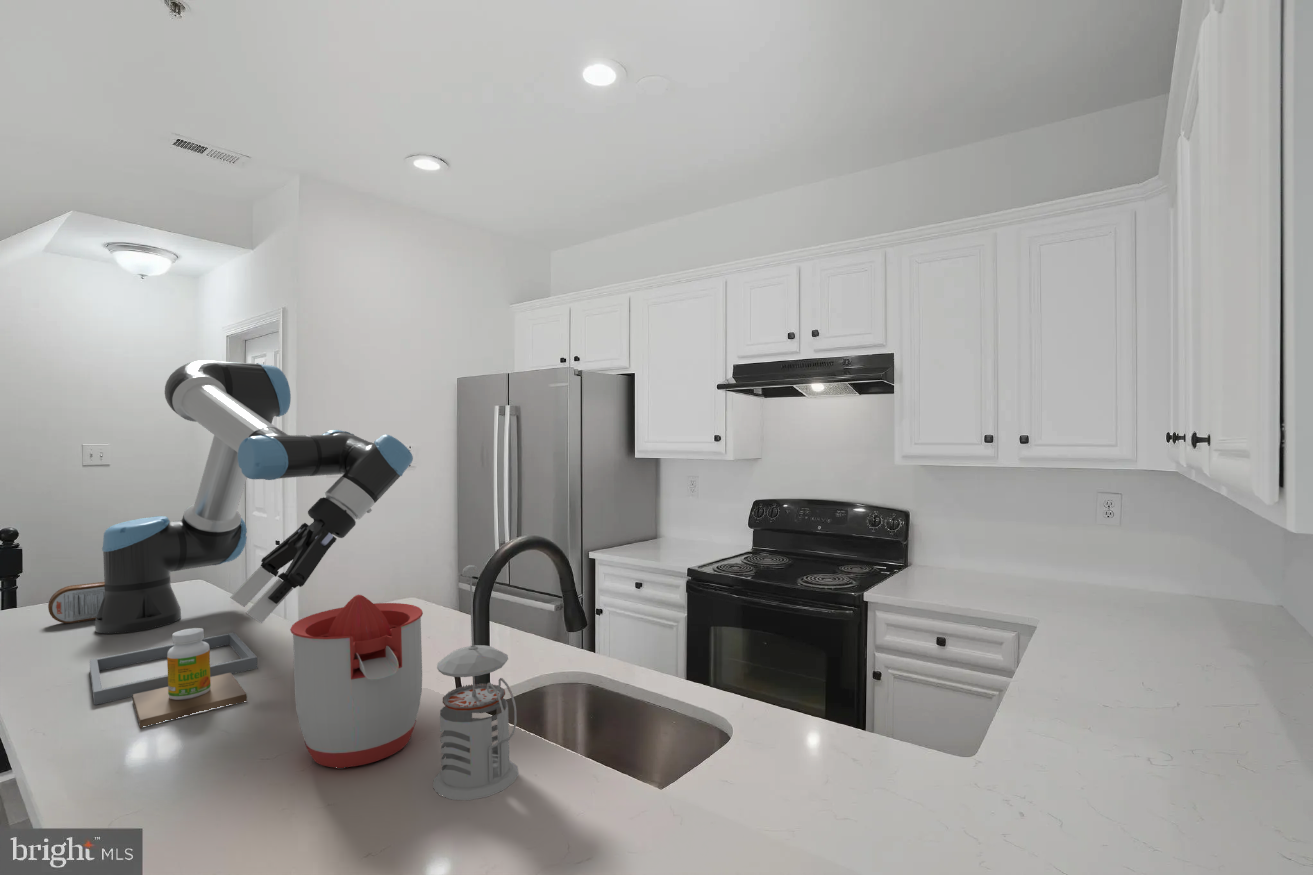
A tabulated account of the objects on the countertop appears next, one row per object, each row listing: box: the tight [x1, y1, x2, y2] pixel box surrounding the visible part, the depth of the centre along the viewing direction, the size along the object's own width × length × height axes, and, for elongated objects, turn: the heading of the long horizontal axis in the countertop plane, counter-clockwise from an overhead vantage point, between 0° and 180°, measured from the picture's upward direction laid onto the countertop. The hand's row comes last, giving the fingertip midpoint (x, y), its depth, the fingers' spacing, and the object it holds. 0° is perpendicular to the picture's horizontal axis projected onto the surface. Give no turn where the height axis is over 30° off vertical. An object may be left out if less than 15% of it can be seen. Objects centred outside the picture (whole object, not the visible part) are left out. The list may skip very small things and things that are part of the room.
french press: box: [432, 564, 519, 801], centre depth 77 cm, size 10×12×25 cm
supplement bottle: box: [166, 627, 211, 700], centre depth 102 cm, size 5×5×10 cm
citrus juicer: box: [289, 594, 424, 769], centre depth 85 cm, size 16×17×20 cm
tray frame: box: [89, 632, 258, 706], centre depth 117 cm, size 22×21×2 cm
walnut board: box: [132, 673, 248, 729], centre depth 102 cm, size 13×13×1 cm
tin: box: [47, 581, 105, 624], centre depth 153 cm, size 15×3×8 cm, turn 130°
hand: (244, 610), depth 107 cm, fingers open, 13 cm apart
